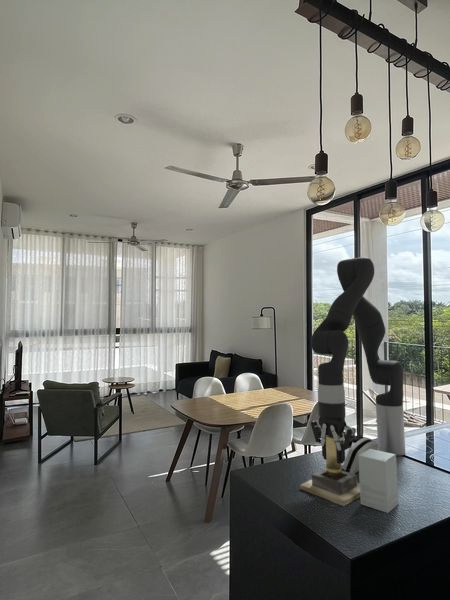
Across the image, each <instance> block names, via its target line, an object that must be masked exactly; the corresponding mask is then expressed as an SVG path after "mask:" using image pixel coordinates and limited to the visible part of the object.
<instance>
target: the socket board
mask: <svg viewBox="0 0 450 600" xmlns="http://www.w3.org/2000/svg"><path fill="white" fill-rule="evenodd" d="M357 481H358V480H357V475H356V474H351V473H349V471H346V470H342V474H341V475H330V474H328V473H326V467H325V468H323V469H321V470H318V471H317V472H314V473H312V474H311V479H309V480H307V481H305V482H302V483H301V484H300V486H299V487H300V488H299V489H300V490H302V491H304V492H307V493H308V494H309V493H310V494H312V495H314V496H317V497H320V498H322V499H325V500H327V501H330V502H331V503H334V504H337V505H340V506H342V507H346V506H347V505H349V504H350V503H352V502H354V501H355V500H357V499H359V498H360V482H359V483H358V482H357Z"/></svg>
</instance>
